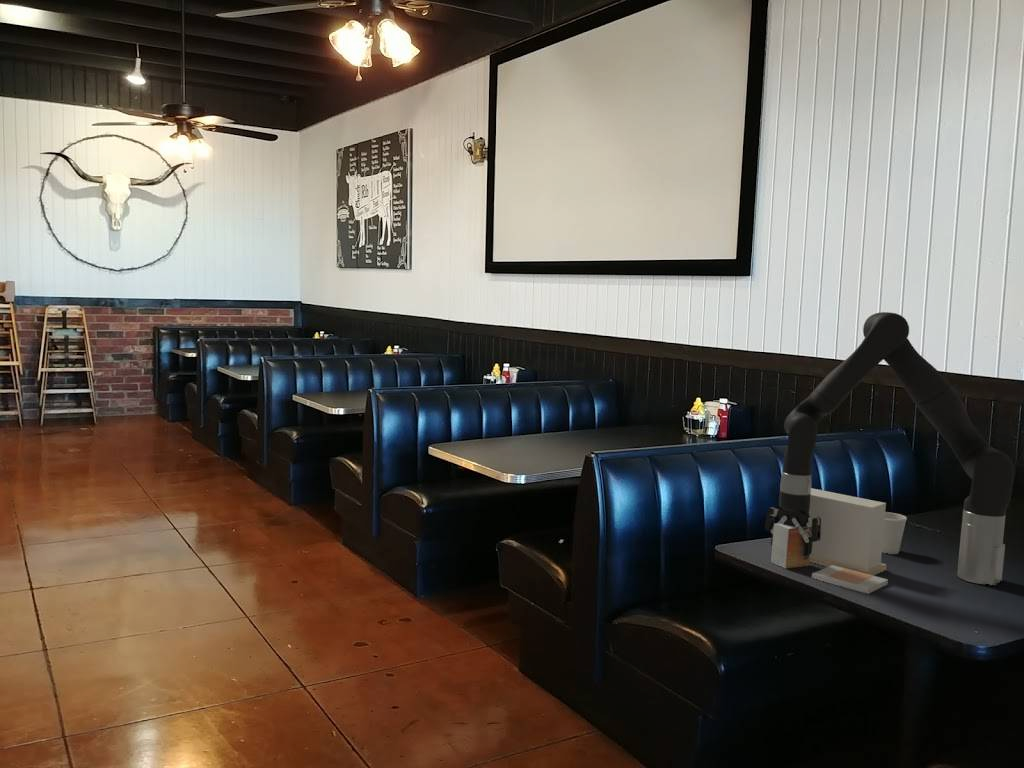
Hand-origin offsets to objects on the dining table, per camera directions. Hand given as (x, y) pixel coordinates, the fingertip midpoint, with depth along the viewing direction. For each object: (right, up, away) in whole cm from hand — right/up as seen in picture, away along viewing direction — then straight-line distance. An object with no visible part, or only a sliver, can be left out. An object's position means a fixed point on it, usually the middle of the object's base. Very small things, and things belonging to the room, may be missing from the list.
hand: (790, 551), depth 221 cm
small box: (0, -4, 0) cm, 4 cm away
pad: (+11, -5, -11) cm, 16 cm away
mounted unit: (+12, -3, +4) cm, 13 cm away
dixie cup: (+32, -3, +16) cm, 36 cm away
